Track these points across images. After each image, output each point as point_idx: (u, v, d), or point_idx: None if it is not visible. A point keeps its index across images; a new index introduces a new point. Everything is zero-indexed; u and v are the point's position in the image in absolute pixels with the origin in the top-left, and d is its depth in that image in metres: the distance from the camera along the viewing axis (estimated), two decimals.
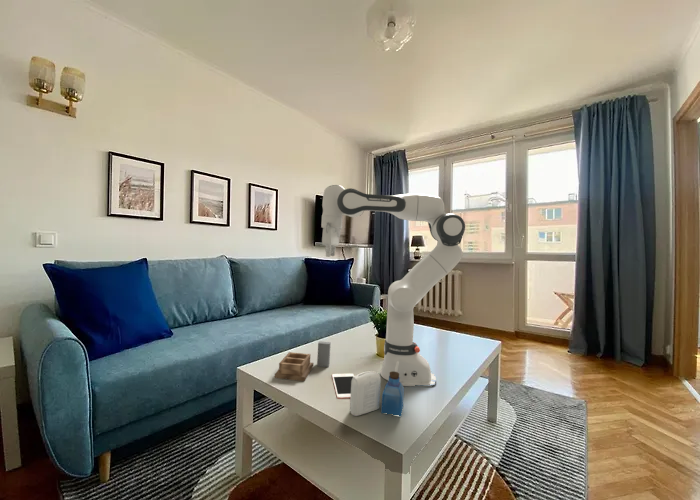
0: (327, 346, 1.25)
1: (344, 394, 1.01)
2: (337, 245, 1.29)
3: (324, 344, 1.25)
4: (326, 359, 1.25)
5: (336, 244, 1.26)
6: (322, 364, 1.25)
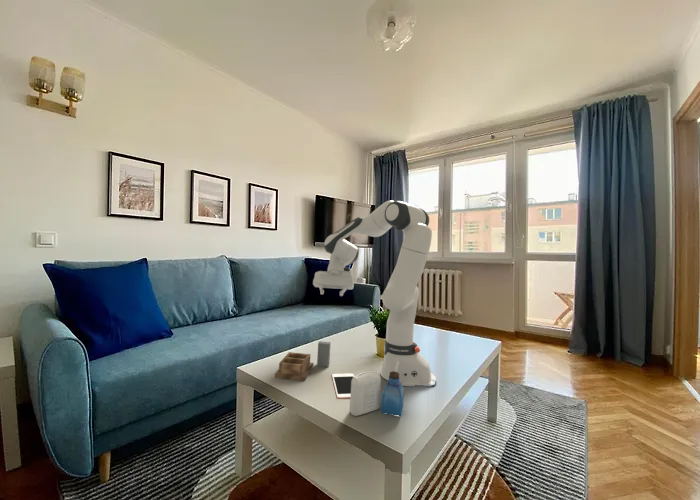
0: (327, 346, 1.25)
1: (344, 394, 1.01)
2: (347, 285, 1.39)
3: (324, 344, 1.25)
4: (326, 359, 1.25)
5: (340, 283, 1.40)
6: (322, 364, 1.25)
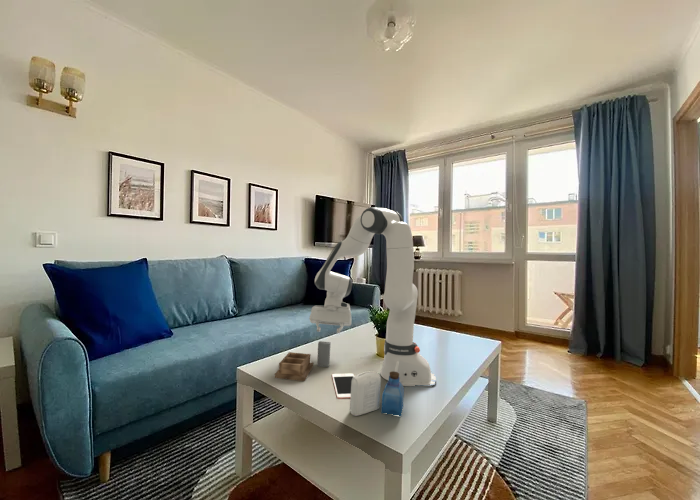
0: (327, 346, 1.25)
1: (344, 394, 1.01)
2: (344, 322, 1.35)
3: (324, 344, 1.25)
4: (326, 359, 1.25)
5: (337, 320, 1.36)
6: (322, 364, 1.25)
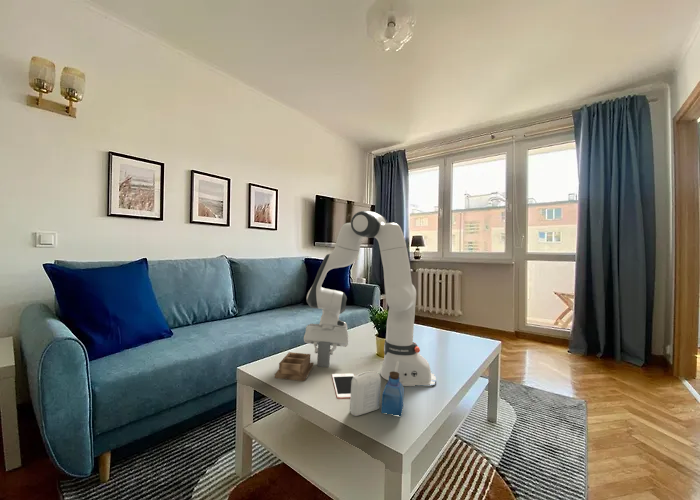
0: (327, 346, 1.25)
1: (344, 394, 1.01)
2: (340, 342, 1.27)
3: (324, 344, 1.25)
4: (326, 359, 1.25)
5: (333, 341, 1.27)
6: (322, 364, 1.25)
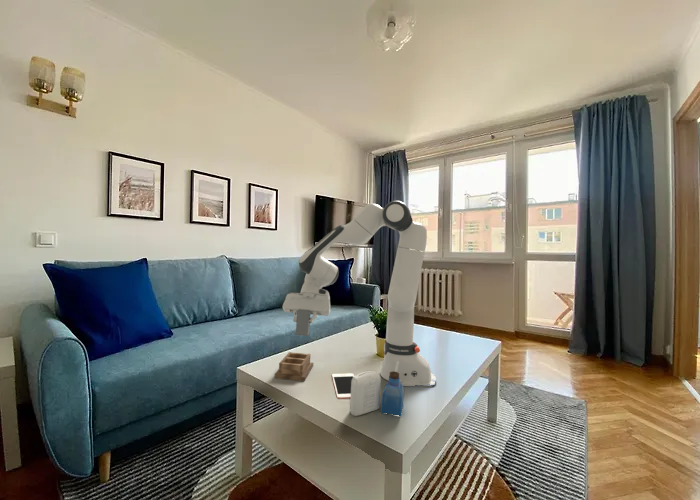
0: (306, 314, 1.17)
1: (344, 394, 1.01)
2: (321, 310, 1.19)
3: (303, 311, 1.17)
4: (305, 328, 1.17)
5: (313, 309, 1.20)
6: (301, 333, 1.17)
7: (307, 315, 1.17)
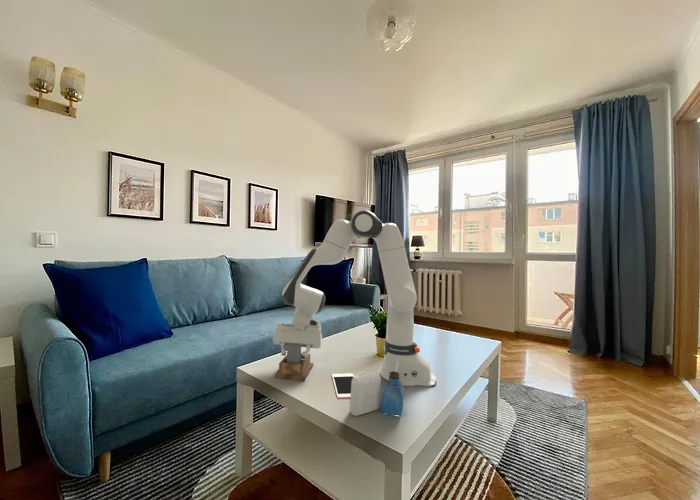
0: (297, 350, 1.14)
1: (344, 394, 1.01)
2: (312, 344, 1.16)
3: (294, 348, 1.14)
4: None
5: (304, 342, 1.17)
6: None
7: (298, 351, 1.14)
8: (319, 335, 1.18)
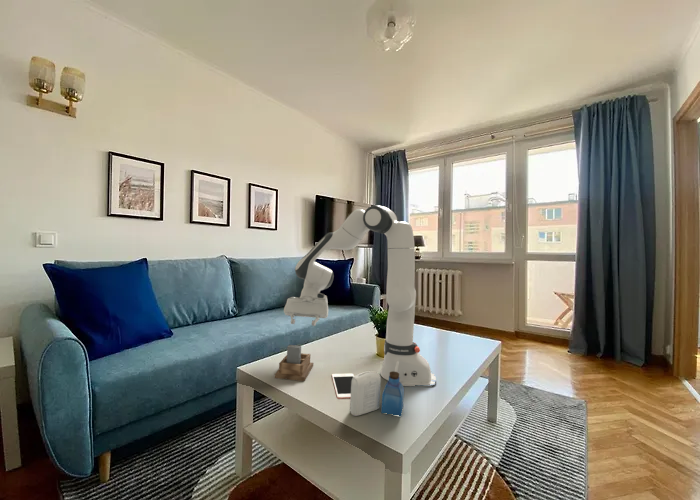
0: (297, 350, 1.14)
1: (344, 394, 1.01)
2: (320, 313, 1.28)
3: (294, 348, 1.14)
4: None
5: (312, 312, 1.29)
6: None
7: (298, 351, 1.14)
8: (326, 306, 1.30)
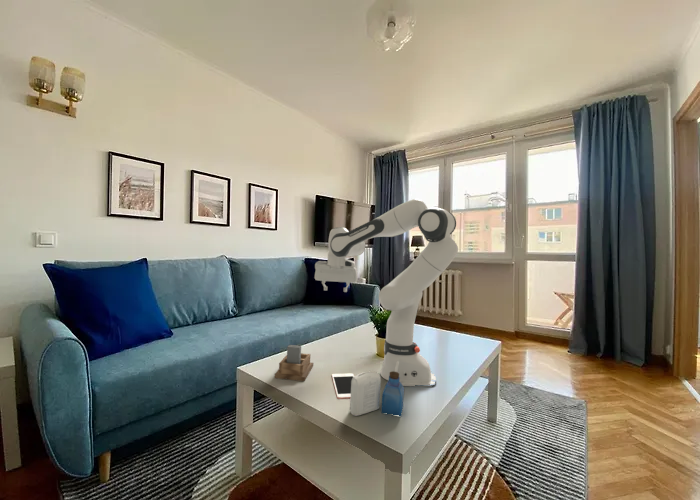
0: (297, 350, 1.14)
1: (344, 394, 1.01)
2: (350, 282, 1.34)
3: (294, 348, 1.14)
4: None
5: (342, 280, 1.34)
6: None
7: (298, 351, 1.14)
8: (355, 274, 1.33)
